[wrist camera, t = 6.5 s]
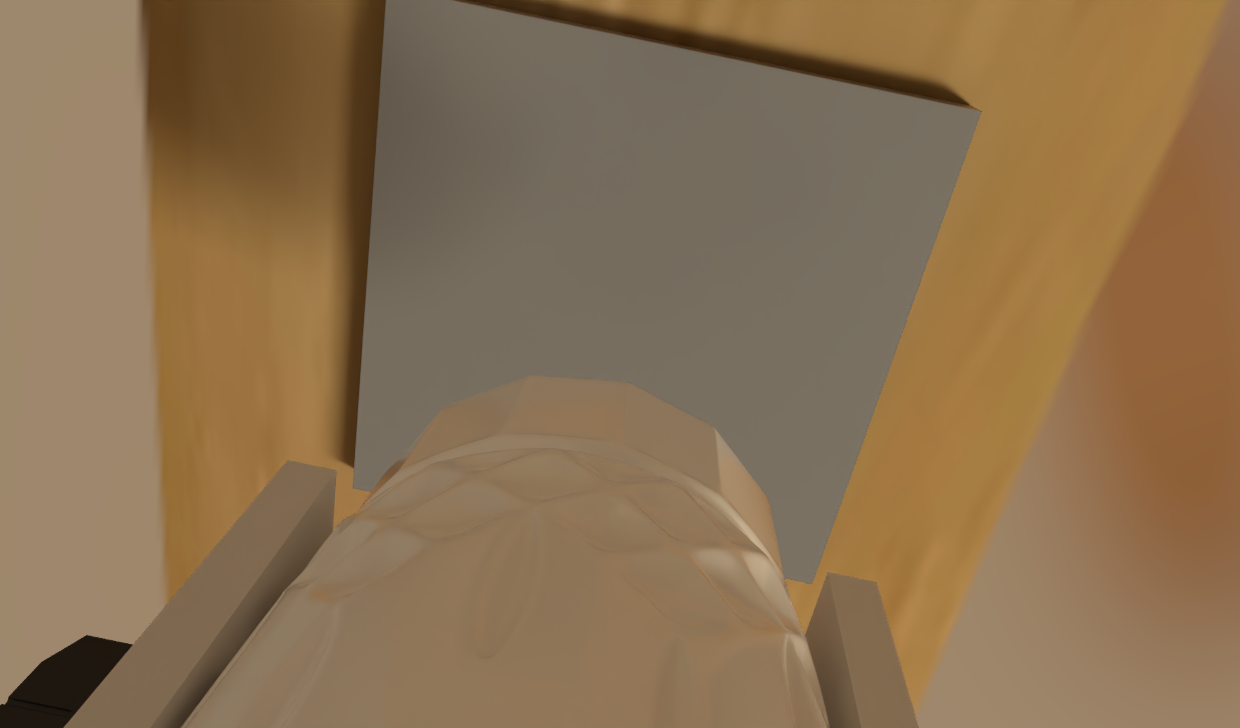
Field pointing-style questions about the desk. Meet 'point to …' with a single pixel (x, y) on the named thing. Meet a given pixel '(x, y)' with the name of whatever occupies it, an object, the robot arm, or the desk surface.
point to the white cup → (539, 583)
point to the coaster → (646, 238)
